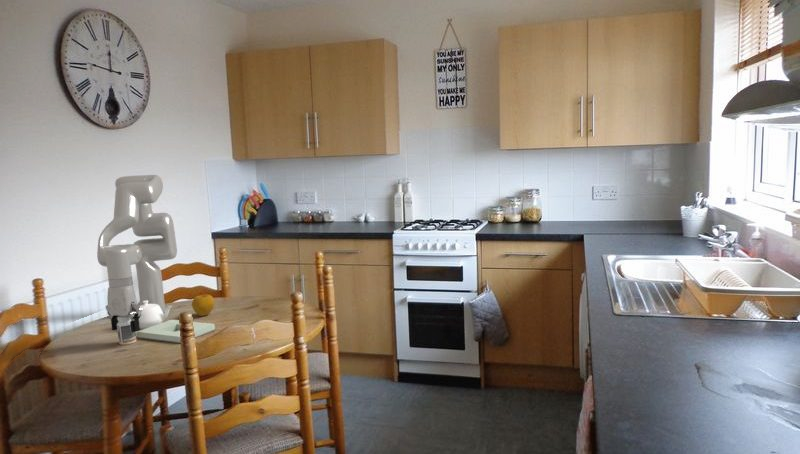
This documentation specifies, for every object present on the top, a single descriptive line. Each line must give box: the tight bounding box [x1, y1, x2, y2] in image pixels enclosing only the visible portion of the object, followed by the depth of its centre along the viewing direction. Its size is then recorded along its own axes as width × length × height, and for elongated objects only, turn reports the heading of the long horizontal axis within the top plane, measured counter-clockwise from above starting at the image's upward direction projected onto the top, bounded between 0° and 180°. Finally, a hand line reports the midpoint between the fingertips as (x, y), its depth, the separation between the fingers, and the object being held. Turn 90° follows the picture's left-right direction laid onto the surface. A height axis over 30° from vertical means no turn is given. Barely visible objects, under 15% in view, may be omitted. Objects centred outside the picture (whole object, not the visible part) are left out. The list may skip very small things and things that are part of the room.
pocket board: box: [136, 319, 216, 344], centre depth 212 cm, size 22×16×2 cm
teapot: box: [132, 300, 173, 330], centre depth 224 cm, size 20×12×10 cm, turn 88°
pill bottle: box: [116, 315, 137, 346], centre depth 204 cm, size 6×6×10 cm
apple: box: [191, 294, 216, 317], centre depth 236 cm, size 9×9×9 cm
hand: (125, 330), depth 203 cm, fingers open, 9 cm apart
